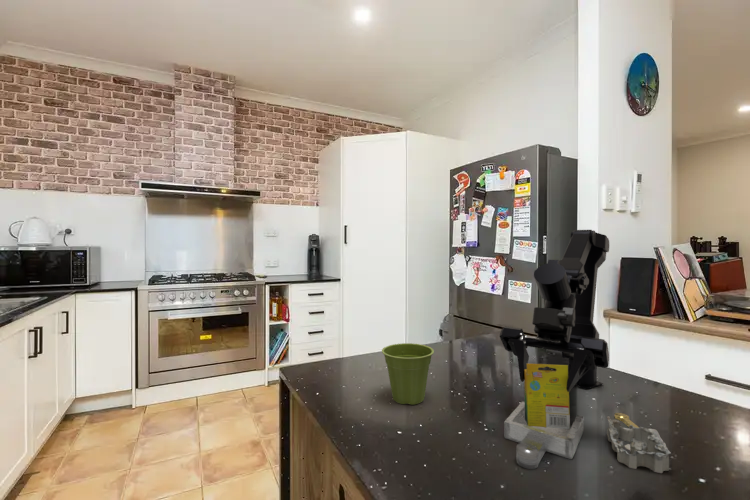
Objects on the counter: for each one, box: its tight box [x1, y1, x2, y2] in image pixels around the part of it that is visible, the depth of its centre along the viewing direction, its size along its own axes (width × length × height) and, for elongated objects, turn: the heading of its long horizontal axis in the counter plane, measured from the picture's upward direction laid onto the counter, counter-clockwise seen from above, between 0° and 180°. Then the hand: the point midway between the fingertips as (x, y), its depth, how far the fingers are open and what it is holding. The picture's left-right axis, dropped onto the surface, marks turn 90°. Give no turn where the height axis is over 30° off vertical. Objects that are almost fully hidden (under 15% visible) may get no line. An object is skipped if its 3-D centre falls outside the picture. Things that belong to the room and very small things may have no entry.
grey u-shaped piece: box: [503, 401, 584, 470], centre depth 65 cm, size 18×11×3 cm, turn 142°
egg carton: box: [606, 415, 672, 474], centre depth 62 cm, size 11×8×4 cm
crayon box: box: [523, 362, 571, 430], centre depth 68 cm, size 7×3×12 cm, turn 77°
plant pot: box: [381, 342, 435, 406], centre depth 84 cm, size 12×12×11 cm
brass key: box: [614, 412, 640, 428], centre depth 72 cm, size 7×2×1 cm, turn 174°
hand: (543, 385), depth 67 cm, fingers closed on crayon box, 7 cm apart
